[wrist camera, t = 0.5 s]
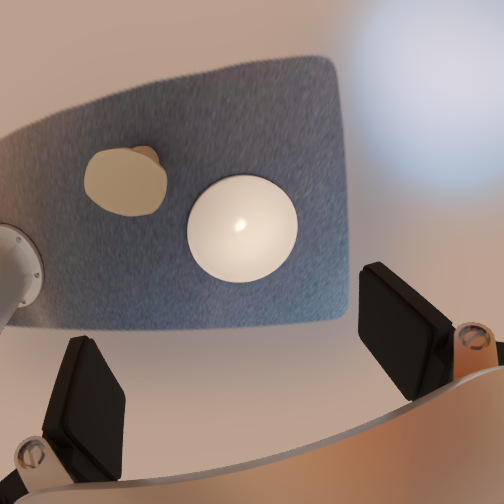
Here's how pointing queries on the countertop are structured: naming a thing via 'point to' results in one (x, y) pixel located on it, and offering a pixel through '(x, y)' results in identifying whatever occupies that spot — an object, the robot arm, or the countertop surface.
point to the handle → (126, 180)
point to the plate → (241, 228)
